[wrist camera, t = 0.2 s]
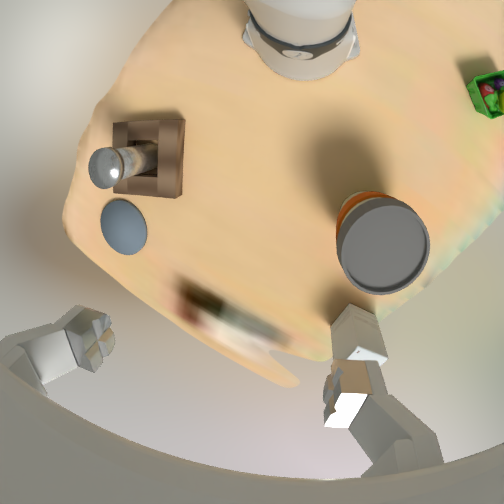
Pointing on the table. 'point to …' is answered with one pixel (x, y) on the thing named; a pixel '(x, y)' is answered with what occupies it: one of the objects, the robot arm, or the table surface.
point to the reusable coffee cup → (380, 242)
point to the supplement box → (357, 336)
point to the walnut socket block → (168, 157)
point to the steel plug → (121, 163)
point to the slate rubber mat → (123, 227)
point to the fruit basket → (488, 94)
